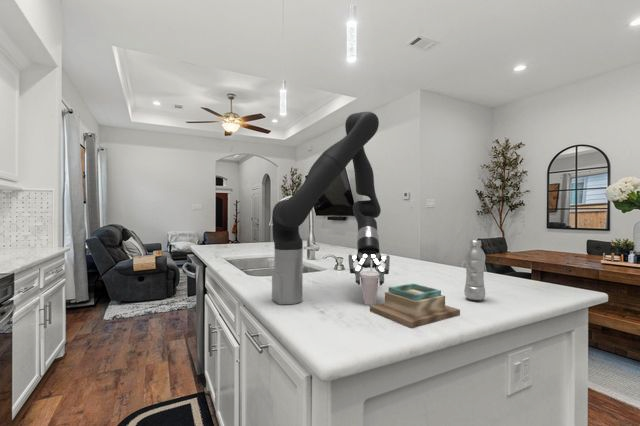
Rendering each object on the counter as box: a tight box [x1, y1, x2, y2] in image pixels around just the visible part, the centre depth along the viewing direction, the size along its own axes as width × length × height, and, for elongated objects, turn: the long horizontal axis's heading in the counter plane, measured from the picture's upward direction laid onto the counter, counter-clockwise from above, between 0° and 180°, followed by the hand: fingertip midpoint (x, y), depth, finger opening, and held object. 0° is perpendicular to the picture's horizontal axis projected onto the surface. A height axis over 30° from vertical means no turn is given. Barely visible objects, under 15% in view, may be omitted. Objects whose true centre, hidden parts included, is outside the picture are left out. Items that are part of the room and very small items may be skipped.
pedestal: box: [369, 283, 461, 329], centre depth 94 cm, size 20×16×7 cm
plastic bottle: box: [464, 239, 487, 301], centre depth 108 cm, size 6×7×20 cm
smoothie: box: [360, 260, 380, 306], centre depth 103 cm, size 6×6×14 cm
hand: (370, 283), depth 101 cm, fingers closed on smoothie, 6 cm apart
